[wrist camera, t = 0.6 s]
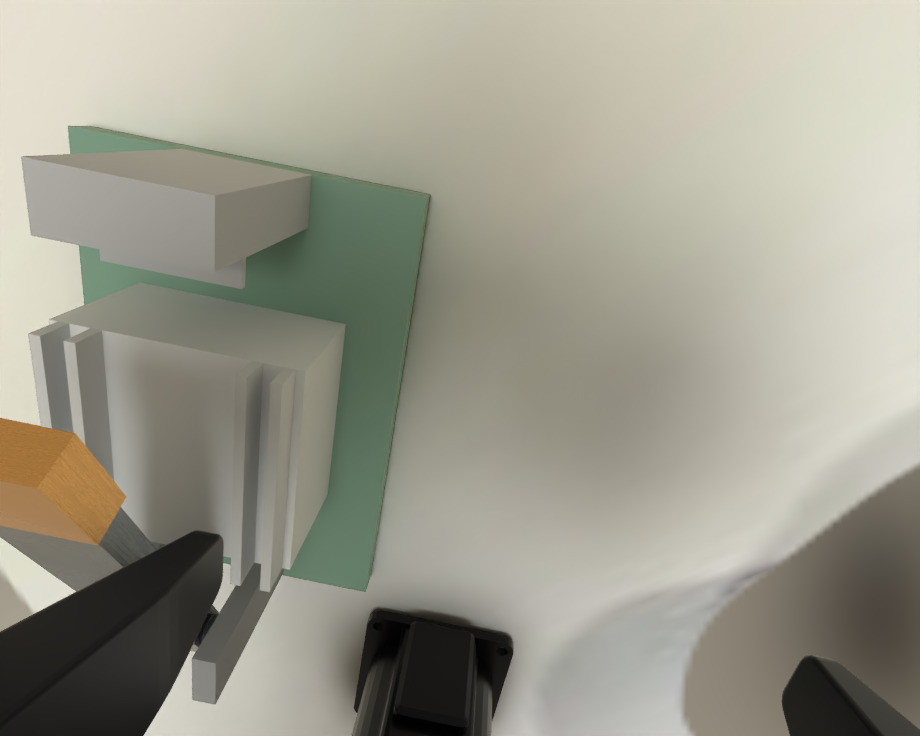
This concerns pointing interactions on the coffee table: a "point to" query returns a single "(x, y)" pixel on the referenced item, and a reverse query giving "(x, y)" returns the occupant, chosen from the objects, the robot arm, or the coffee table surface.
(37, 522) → the orange tipped gray lever
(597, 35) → the coffee table surface
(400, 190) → the heatsink board
